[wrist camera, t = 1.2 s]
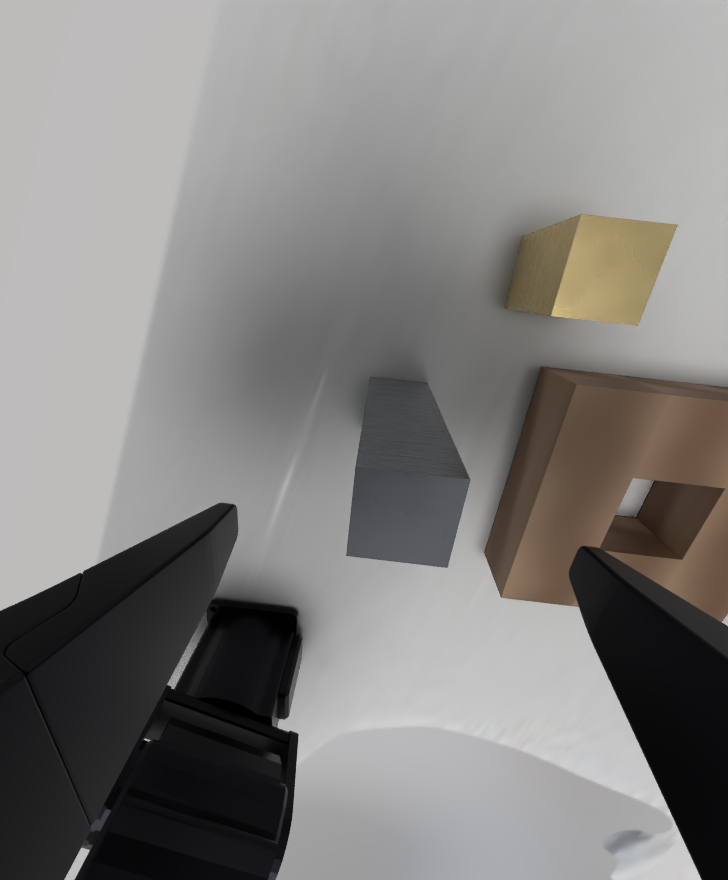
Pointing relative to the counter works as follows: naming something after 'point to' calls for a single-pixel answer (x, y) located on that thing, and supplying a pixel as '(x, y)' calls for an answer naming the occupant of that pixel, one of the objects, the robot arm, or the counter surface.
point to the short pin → (590, 268)
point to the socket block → (616, 487)
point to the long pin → (405, 478)
